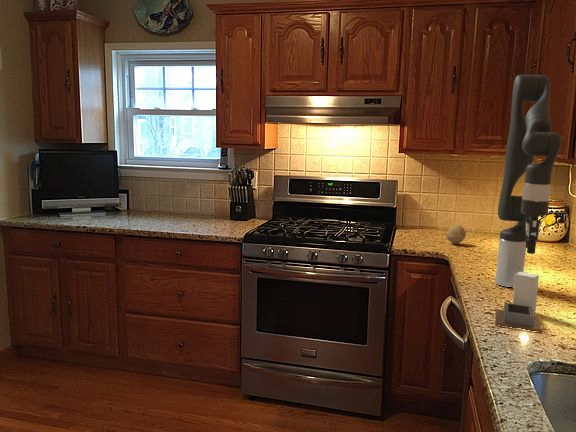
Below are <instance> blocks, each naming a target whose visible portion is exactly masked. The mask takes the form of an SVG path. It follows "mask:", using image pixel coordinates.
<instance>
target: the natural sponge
mask: <svg viewBox="0 0 576 432" xmlns="http://www.w3.org/2000/svg"><path fill="white" fill-rule="evenodd" d="M465 238H466V230H465V228H464V227H463V226H461V225H459V224H456V225H452V226H451V227H450V228H449V229H448V231H447V233H446V239H447V240H448V241H449V242H450V243H452V244H453V245H459V244H461V242H463V241H464V240H465Z"/></svg>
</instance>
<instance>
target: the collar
mask: <svg viewBox="0 0 576 432" xmlns="http://www.w3.org/2000/svg"><path fill="white" fill-rule="evenodd" d="M495 318H496V320H495V324H494V325H500V326H507V327H512V328H521V329H525V330H530V331H539V332H541V333H542V332H543V331H542V325H541V320H540V316H539V315H538V314H535V313H534V314H533V309H532V306H527V305H520V304H513V302H512V303H511V302H504V305H503V309H495ZM530 331H529V332H530Z"/></svg>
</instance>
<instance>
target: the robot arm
mask: <svg viewBox="0 0 576 432" xmlns="http://www.w3.org/2000/svg"><path fill="white" fill-rule="evenodd" d="M511 97H512V98H511V99H512V100H511V111H510V113H511V114H510V125H509V132H508V136H507V137H508V138H507V144H506V152H505V161H504V171H503V179H502V185H501V189H500V195H499V201H498V205H497V216H498V219H499V220H501V221H506V222H507V221H508V222H517V223H516V224H515V225H513V226H511V227H509V228H506V229H505V228H504V229H503V230H500V231H499V239H498V250H497V261H496V262H497V263H496V271H495V280H494V284H495V283H496V284H498V285H497V286H499V285H501V286H500V287H502V286H505V287H504V288H506V287H514V280H515V274H516V273H518V272H524V271H525V262H526V254H530V255H535V254H536V248H537V247H536V246H537V242H538V241H539V236H540V227H541V225H542V223H541V222H542V221H541V220H539V217H540V216H547V215H549V214H548V213H549V208H550V207H549V205H550V198H551V197H550V196H551V181H552V171H553V168H554V165H555V163H556V160H557V157H558V155H559V153H560V151H561V148H562V145H563V141H562V137H561V135H560V134H559V133H558V132H555V131H554V132H552V129H553V127H552V121H551V116H550V107H551V83H550V78H549V77H548V76H547V75H546V74H545V75H544V74H518V75H516V77H515V79H514V82H513V87H512V96H511ZM523 103H529V104H530V103H535V104H533V105H532V106H531V107H530V108H529V110H527V113H526V115H525V114H524V111H523ZM535 156H536V157H537V156H540V157H541V156H542V157H545V158H544V159H543V161H541V162H535V163H534V159H535ZM523 175H525V177H524V186H523V189H522V194H521V195H512V193H513V191H514V188H515V186H516V184H517V183H518V181H519V180H520V179H521V177H522V176H523ZM524 273H525V272H524ZM496 284H495V285H496Z"/></svg>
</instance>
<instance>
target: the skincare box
mask: <svg viewBox="0 0 576 432" xmlns="http://www.w3.org/2000/svg"><path fill="white" fill-rule="evenodd" d="M538 289H539V274H532V273H528V272H518V273H516V274H515V280H514V288H513V295H512V303H513V304H520V305H527V306H532V309H533V312H535V311H536V312H537V302H538V301H537V298H538ZM536 312H535V313H536Z"/></svg>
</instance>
